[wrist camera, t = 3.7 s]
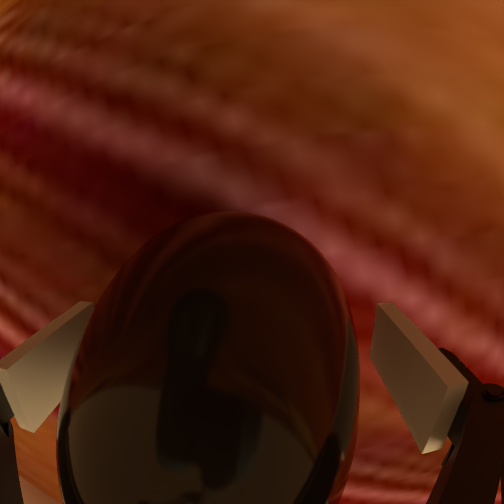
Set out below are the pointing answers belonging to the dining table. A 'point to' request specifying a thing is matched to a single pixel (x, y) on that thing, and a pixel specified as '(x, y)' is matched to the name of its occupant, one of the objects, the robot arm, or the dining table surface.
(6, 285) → the dining table surface
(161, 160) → the dining table surface
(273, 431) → the pump dispenser
